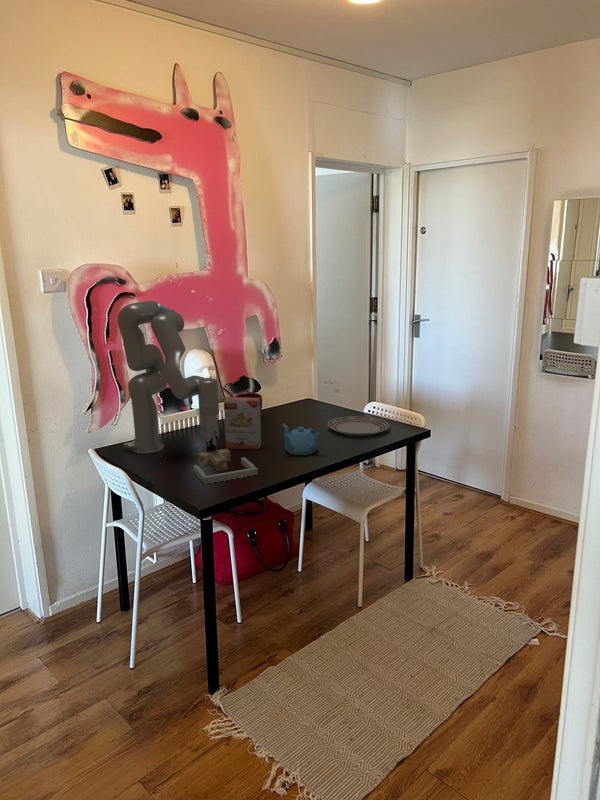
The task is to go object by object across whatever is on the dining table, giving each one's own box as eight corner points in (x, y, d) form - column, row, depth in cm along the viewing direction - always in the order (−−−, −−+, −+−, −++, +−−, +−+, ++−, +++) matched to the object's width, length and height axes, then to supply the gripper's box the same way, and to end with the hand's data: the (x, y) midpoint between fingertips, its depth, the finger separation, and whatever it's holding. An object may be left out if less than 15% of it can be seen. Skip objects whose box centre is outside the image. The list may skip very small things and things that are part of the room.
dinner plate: (359, 418, 289) (359, 411, 289) (402, 431, 268) (402, 424, 267) (315, 429, 273) (315, 422, 272) (356, 444, 252) (356, 436, 251)
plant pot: (236, 416, 295) (235, 392, 292) (263, 416, 295) (262, 392, 292) (233, 424, 283) (232, 399, 280) (261, 423, 282) (261, 399, 279)
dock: (204, 484, 211) (203, 478, 211) (193, 472, 223) (193, 465, 223) (257, 475, 219) (257, 468, 219) (244, 463, 231) (244, 457, 231)
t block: (206, 473, 222) (206, 462, 221) (197, 463, 233) (197, 453, 232) (237, 467, 227) (237, 457, 226) (227, 458, 237) (227, 448, 236)
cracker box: (225, 449, 248) (222, 400, 243) (229, 444, 254) (226, 396, 248) (258, 450, 246) (257, 400, 241) (261, 445, 252) (260, 397, 246)
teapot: (318, 445, 251) (317, 421, 249) (321, 457, 237) (321, 432, 234) (282, 446, 250) (282, 422, 248) (283, 458, 236) (283, 433, 233)
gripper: (194, 407, 237) (196, 451, 242) (205, 416, 224) (207, 463, 228) (212, 404, 240) (214, 448, 245) (224, 413, 227) (226, 459, 232)
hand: (211, 455), depth 237 cm, fingers closed
